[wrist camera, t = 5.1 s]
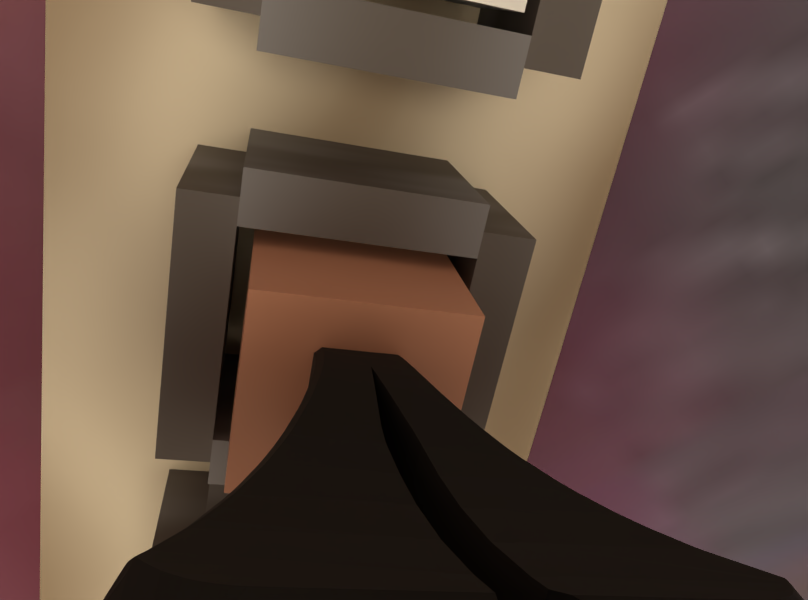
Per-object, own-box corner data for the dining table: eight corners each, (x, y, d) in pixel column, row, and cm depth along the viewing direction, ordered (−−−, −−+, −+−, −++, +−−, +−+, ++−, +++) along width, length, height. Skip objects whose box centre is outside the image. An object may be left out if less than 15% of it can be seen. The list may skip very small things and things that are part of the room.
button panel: (726, -317, 14) (934, -458, 10) (446, 649, 24) (486, 806, 19) (78, -543, 12) (-49, -877, 7) (54, 646, 21) (-7, 827, 17)
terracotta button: (444, 252, 14) (485, 316, 11) (408, 411, 15) (436, 504, 12) (255, 226, 13) (248, 288, 10) (234, 397, 14) (223, 493, 12)
